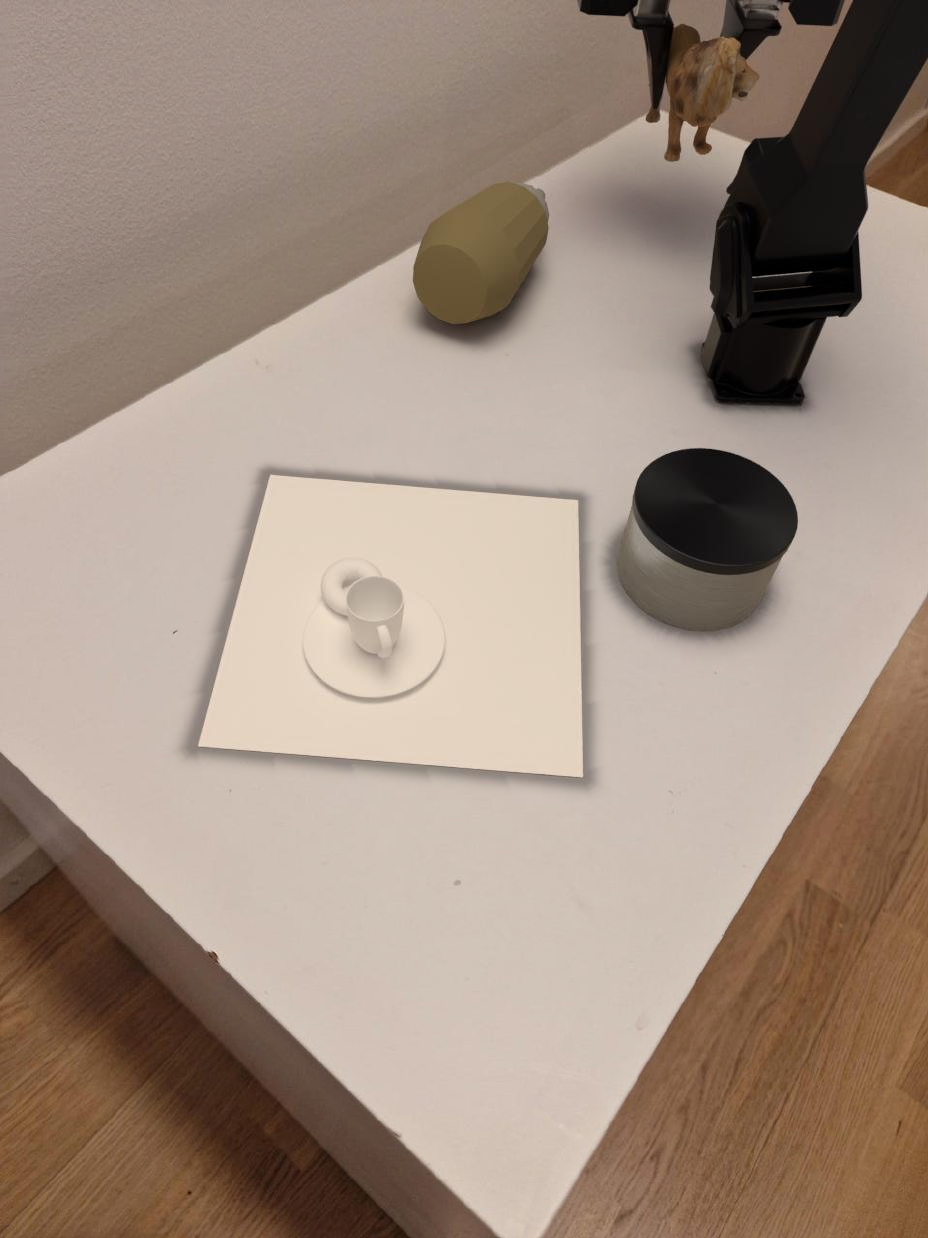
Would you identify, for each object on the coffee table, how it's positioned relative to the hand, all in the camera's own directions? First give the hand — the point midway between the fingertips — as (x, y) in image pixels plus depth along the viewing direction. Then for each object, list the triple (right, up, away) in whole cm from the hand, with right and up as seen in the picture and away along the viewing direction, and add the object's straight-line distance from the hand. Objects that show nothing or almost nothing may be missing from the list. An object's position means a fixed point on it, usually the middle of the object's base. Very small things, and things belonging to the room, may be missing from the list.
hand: (679, 107), depth 74 cm
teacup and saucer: (-20, -40, -19) cm, 49 cm away
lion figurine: (+1, -2, +1) cm, 2 cm away
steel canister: (-3, -38, -16) cm, 41 cm away
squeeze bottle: (-18, -17, -7) cm, 26 cm away
